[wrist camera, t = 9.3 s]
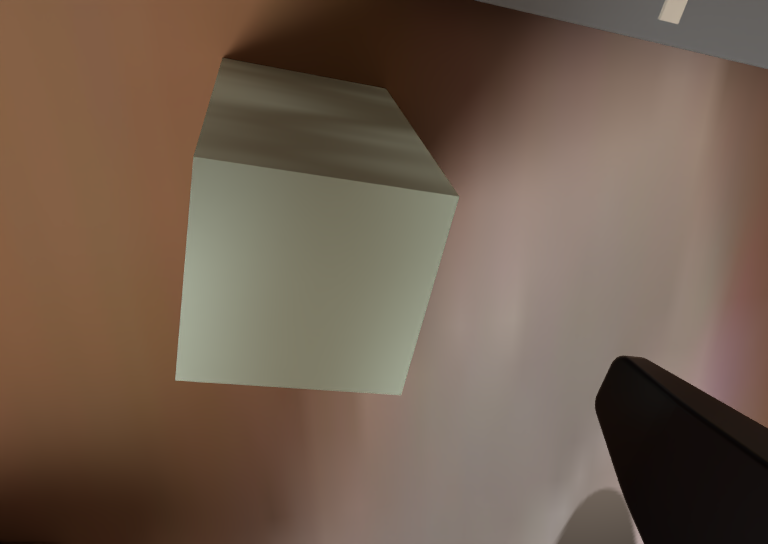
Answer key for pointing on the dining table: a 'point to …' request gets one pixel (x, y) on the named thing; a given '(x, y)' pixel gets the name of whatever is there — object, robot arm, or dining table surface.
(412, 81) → the dining table surface
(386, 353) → the peg
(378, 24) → the dining table surface
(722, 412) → the robot arm
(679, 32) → the board
